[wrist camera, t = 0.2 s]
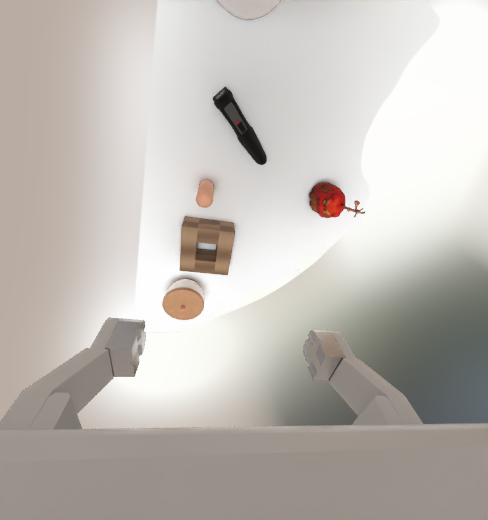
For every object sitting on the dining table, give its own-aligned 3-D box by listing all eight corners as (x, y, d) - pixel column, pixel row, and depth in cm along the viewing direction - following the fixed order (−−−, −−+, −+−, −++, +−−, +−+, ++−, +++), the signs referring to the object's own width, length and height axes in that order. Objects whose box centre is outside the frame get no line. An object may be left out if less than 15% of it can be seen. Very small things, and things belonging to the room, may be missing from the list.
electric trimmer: (255, 167, 53) (257, 169, 50) (211, 99, 45) (210, 98, 43) (269, 156, 52) (271, 158, 49) (226, 85, 44) (227, 83, 42)
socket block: (185, 216, 57) (181, 226, 52) (233, 222, 59) (234, 232, 54) (183, 258, 63) (179, 270, 58) (227, 262, 65) (227, 275, 60)
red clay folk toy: (305, 185, 55) (331, 205, 43) (334, 176, 55) (369, 194, 42) (310, 214, 59) (334, 240, 47) (337, 206, 59) (369, 230, 46)
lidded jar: (204, 272, 66) (202, 293, 58) (206, 300, 71) (204, 323, 63) (165, 272, 65) (157, 294, 57) (170, 302, 70) (164, 325, 62)
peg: (200, 178, 52) (196, 190, 44) (214, 180, 53) (213, 192, 44) (199, 192, 54) (195, 206, 46) (212, 194, 55) (211, 208, 46)
